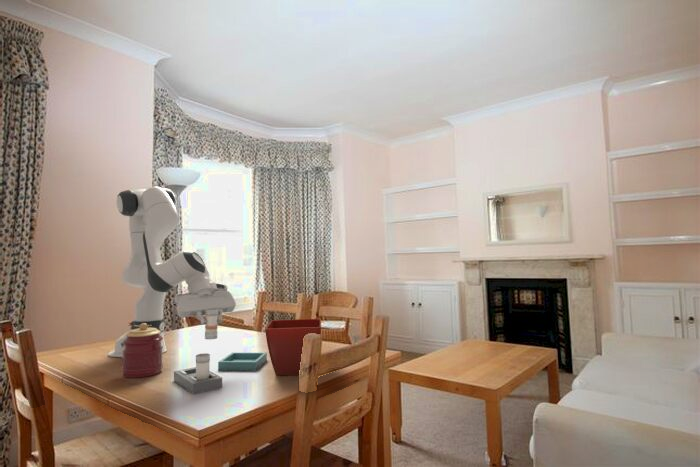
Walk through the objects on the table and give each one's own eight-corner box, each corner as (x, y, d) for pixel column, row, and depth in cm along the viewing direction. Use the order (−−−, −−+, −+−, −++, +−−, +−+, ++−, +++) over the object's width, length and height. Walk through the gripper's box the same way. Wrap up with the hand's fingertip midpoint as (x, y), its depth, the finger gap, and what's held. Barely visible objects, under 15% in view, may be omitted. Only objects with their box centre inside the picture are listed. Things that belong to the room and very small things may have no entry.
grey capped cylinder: (202, 339, 138) (203, 310, 138) (207, 336, 142) (208, 308, 142) (214, 339, 137) (215, 310, 138) (219, 337, 141) (219, 308, 142)
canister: (144, 379, 134) (145, 326, 135) (112, 377, 137) (113, 325, 138) (170, 369, 147) (171, 320, 148) (140, 367, 150) (141, 319, 151)
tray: (218, 370, 144) (218, 361, 144) (232, 360, 158) (232, 352, 158) (256, 370, 143) (256, 362, 143) (266, 360, 157) (266, 352, 157)
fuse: (193, 389, 124) (193, 356, 124) (199, 384, 128) (199, 353, 128) (206, 389, 123) (206, 356, 124) (211, 385, 128) (212, 353, 128)
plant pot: (271, 363, 152) (271, 319, 153) (321, 362, 154) (321, 318, 154) (264, 379, 133) (264, 328, 134) (321, 377, 134) (321, 327, 135)
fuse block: (173, 380, 133) (173, 370, 133) (200, 374, 139) (200, 364, 139) (193, 394, 119) (193, 382, 120) (222, 387, 125) (222, 376, 125)
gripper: (174, 288, 139) (184, 320, 131) (230, 284, 152) (242, 313, 144) (170, 300, 142) (179, 332, 134) (226, 295, 155) (236, 324, 148)
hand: (212, 322), depth 139 cm, fingers closed on grey capped cylinder, 4 cm apart
